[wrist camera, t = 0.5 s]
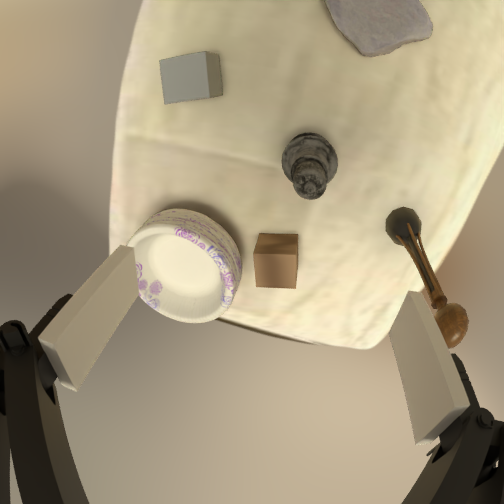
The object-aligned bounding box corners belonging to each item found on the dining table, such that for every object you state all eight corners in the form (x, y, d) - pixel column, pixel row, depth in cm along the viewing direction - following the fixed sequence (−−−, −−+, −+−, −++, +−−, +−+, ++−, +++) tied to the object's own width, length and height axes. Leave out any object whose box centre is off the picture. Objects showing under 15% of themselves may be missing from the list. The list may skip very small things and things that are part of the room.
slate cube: (219, 54, 28) (205, 51, 24) (223, 95, 31) (209, 98, 27) (178, 61, 29) (159, 60, 25) (182, 100, 32) (164, 104, 28)
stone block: (362, 65, 28) (434, 36, 22) (361, 65, 24) (443, 33, 18) (306, -14, 24) (376, -45, 18) (297, -24, 20) (376, -59, 14)
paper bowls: (131, 241, 45) (104, 270, 38) (187, 175, 37) (161, 200, 31) (202, 303, 49) (186, 339, 42) (270, 255, 41) (261, 292, 35)
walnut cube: (298, 233, 39) (296, 254, 35) (297, 265, 42) (295, 288, 38) (259, 233, 40) (253, 253, 36) (262, 264, 43) (256, 286, 38)
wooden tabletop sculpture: (399, 251, 37) (440, 374, 21) (373, 235, 37) (407, 361, 20) (425, 218, 34) (489, 332, 18) (400, 200, 34) (461, 313, 17)
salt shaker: (311, 119, 31) (312, 139, 21) (345, 157, 32) (361, 196, 23) (273, 152, 34) (257, 188, 24) (308, 188, 35) (306, 237, 25)
